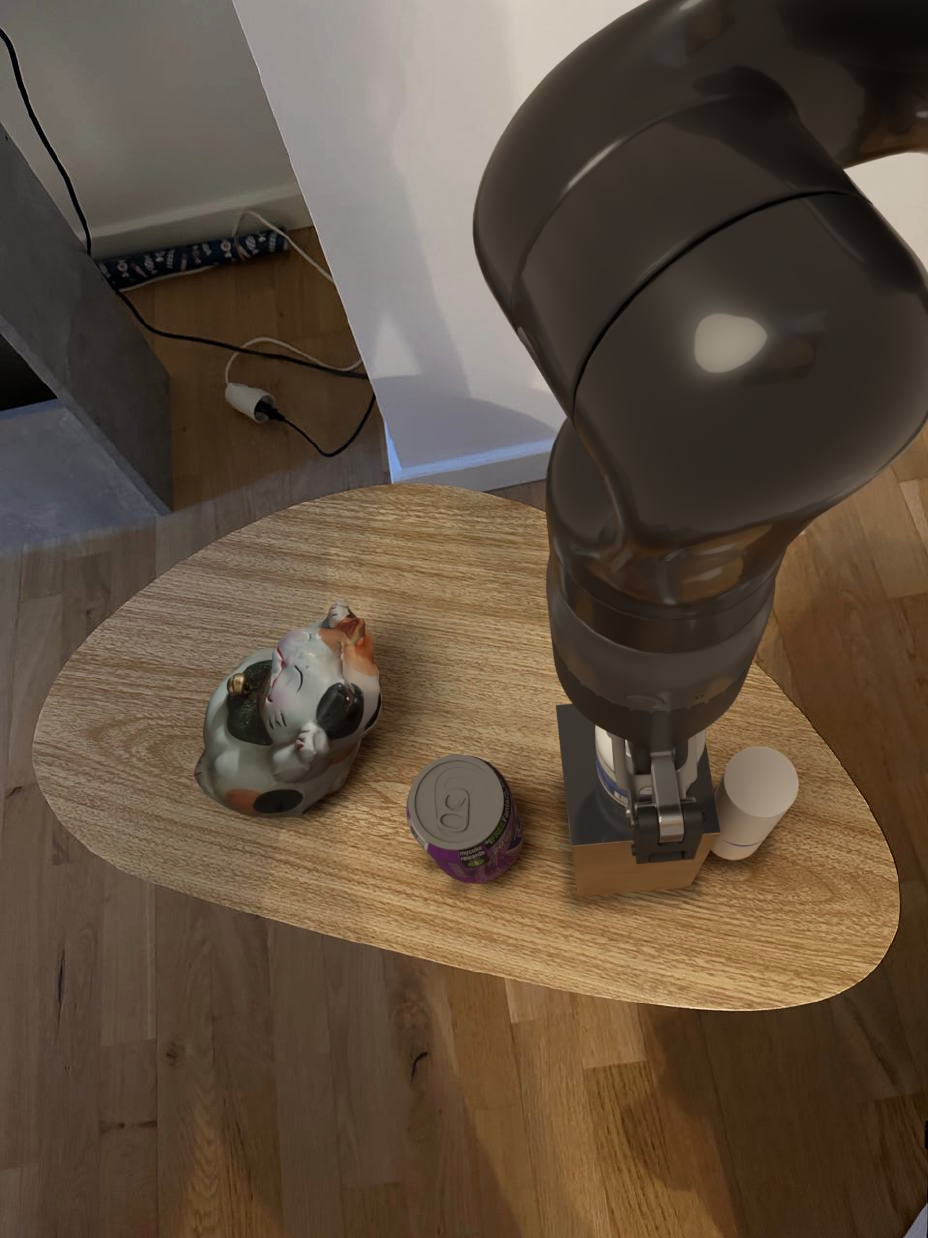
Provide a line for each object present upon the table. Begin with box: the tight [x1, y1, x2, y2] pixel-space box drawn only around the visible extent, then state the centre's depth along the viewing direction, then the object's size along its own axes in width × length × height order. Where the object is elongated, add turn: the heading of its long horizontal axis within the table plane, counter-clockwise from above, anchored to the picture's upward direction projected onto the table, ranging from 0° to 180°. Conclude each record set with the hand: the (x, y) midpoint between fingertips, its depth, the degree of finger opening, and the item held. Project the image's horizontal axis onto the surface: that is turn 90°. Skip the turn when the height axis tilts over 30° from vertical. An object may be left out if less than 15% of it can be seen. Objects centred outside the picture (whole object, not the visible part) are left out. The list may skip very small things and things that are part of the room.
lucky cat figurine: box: [193, 598, 383, 819], centre depth 76 cm, size 15×12×14 cm
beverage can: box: [405, 753, 524, 884], centre depth 72 cm, size 7×7×12 cm
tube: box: [710, 745, 800, 861], centre depth 68 cm, size 4×4×15 cm
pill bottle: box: [595, 725, 707, 806], centre depth 53 cm, size 5×5×10 cm
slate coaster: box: [555, 703, 720, 848], centre depth 57 cm, size 8×8×1 cm
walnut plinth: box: [570, 834, 719, 898], centre depth 67 cm, size 8×8×20 cm
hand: (639, 735), depth 51 cm, fingers open, 8 cm apart
